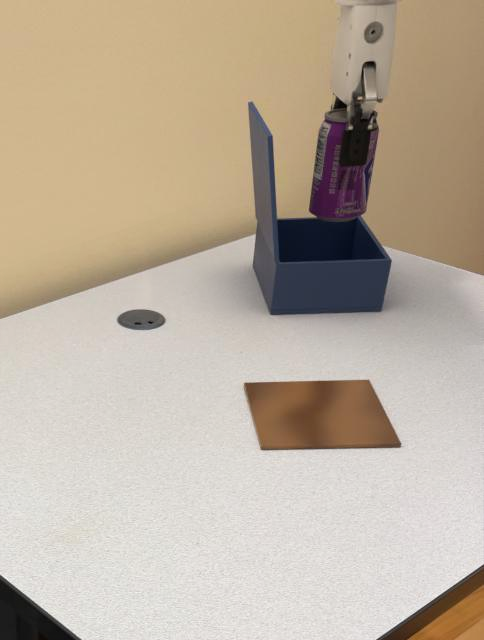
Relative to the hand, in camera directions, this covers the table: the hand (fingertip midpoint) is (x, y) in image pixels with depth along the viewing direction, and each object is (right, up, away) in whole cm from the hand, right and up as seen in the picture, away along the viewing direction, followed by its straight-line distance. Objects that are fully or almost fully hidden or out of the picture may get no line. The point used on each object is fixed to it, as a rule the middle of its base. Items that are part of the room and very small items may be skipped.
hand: (345, 155), depth 111 cm
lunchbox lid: (-9, -2, +3) cm, 10 cm away
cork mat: (-8, -35, -15) cm, 39 cm away
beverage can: (0, -6, +5) cm, 7 cm away
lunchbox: (0, -13, +11) cm, 17 cm away
